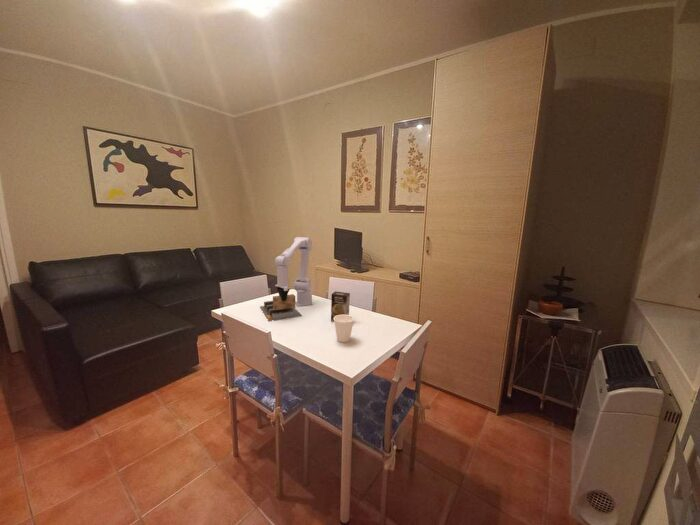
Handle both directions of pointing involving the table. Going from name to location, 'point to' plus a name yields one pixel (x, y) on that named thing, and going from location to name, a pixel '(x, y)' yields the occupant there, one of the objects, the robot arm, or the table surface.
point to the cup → (343, 327)
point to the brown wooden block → (283, 302)
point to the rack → (278, 312)
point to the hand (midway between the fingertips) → (282, 299)
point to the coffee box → (339, 304)
